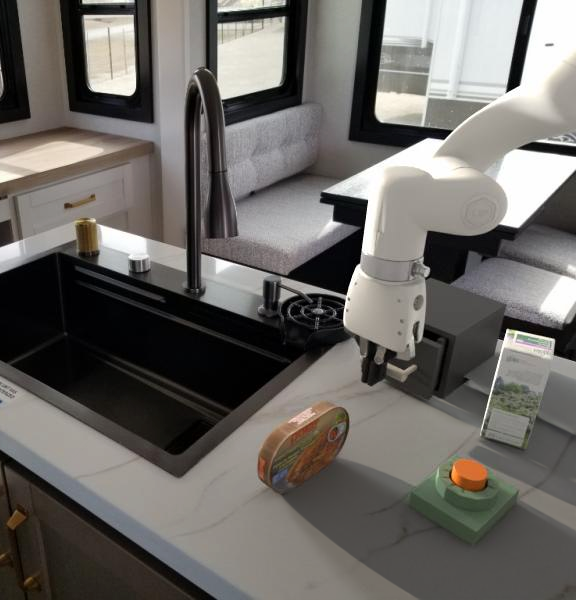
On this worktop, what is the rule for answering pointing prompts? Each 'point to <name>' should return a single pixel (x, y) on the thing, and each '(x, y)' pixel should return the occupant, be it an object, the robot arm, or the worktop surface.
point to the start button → (469, 475)
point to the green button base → (462, 503)
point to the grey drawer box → (462, 330)
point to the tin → (302, 446)
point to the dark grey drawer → (420, 366)
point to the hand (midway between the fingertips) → (372, 380)
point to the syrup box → (517, 388)
